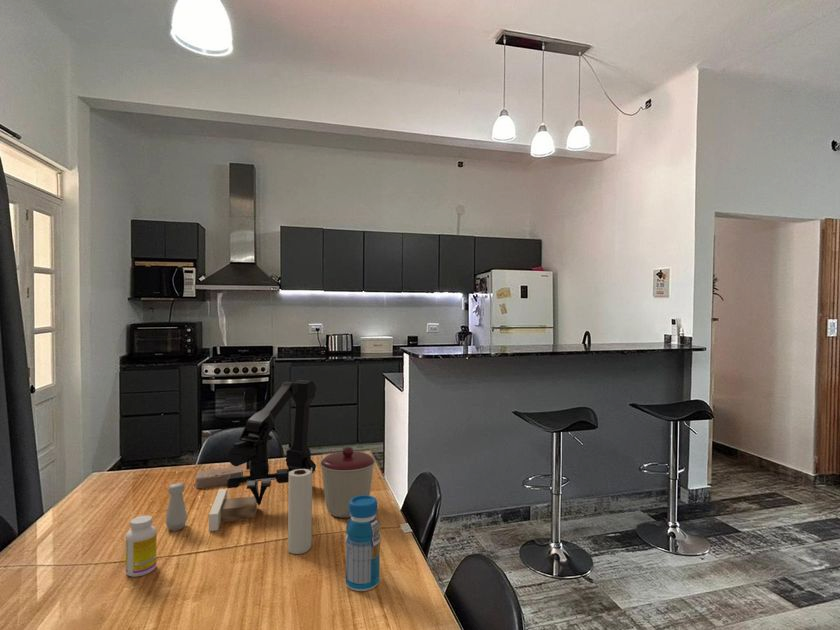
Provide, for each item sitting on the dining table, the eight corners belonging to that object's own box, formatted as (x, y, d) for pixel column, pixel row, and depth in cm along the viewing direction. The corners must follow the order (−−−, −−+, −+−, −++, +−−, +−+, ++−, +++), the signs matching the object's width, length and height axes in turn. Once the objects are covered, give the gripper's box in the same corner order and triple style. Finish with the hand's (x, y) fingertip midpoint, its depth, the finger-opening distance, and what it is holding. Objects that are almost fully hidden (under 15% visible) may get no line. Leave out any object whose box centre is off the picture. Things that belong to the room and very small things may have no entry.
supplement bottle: (162, 566, 118) (162, 516, 118) (139, 580, 112) (139, 527, 112) (143, 561, 120) (143, 512, 120) (119, 574, 114) (119, 522, 114)
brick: (195, 489, 169) (195, 476, 169) (195, 482, 177) (195, 469, 177) (243, 483, 176) (243, 471, 176) (242, 476, 184) (242, 464, 184)
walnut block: (256, 508, 154) (256, 496, 154) (254, 518, 146) (255, 505, 146) (224, 511, 151) (224, 499, 151) (220, 522, 143) (220, 509, 143)
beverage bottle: (350, 596, 106) (350, 509, 106) (341, 577, 114) (341, 496, 114) (384, 588, 110) (385, 504, 110) (373, 569, 118) (374, 491, 117)
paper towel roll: (290, 557, 123) (291, 476, 123) (285, 546, 129) (286, 469, 128) (317, 550, 127) (317, 472, 126) (311, 541, 132) (312, 466, 132)
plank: (227, 503, 157) (227, 488, 157) (217, 530, 138) (218, 513, 138) (219, 504, 156) (219, 489, 156) (208, 531, 137) (208, 514, 137)
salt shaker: (191, 525, 141) (191, 482, 141) (174, 533, 135) (174, 489, 135) (178, 521, 143) (178, 479, 143) (161, 529, 138) (161, 486, 138)
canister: (316, 503, 158) (317, 441, 157) (368, 497, 163) (369, 437, 163) (322, 527, 140) (322, 457, 140) (380, 519, 146) (381, 452, 146)
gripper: (288, 447, 160) (289, 491, 161) (231, 451, 155) (231, 497, 156) (288, 456, 150) (289, 504, 150) (226, 462, 145) (227, 511, 145)
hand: (259, 504), depth 150 cm, fingers closed
